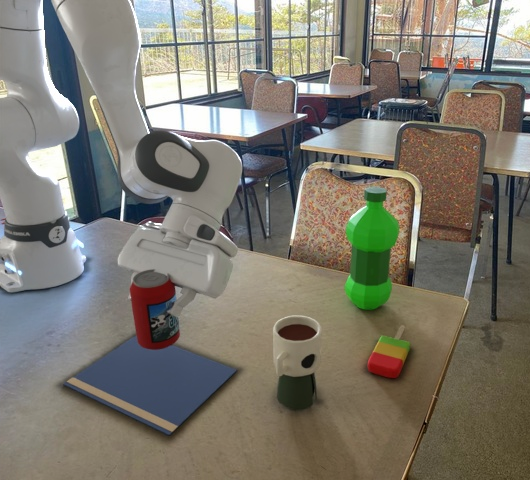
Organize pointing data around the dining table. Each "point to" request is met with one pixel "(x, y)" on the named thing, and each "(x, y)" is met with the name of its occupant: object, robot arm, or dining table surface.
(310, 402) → the character mug
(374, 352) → the popsicle
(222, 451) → the dining table surface
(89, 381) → the blue book
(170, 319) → the beverage can
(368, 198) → the plastic bottle
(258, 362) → the dining table surface
